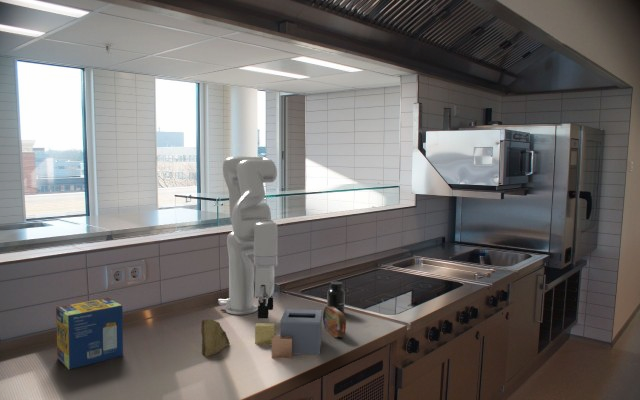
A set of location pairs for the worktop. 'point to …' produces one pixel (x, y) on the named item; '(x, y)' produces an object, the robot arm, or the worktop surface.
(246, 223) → the robot arm
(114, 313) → the protein box
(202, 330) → the rock
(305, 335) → the blue-grey block with hole
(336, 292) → the supplement bottle
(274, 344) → the brown wooden square slab
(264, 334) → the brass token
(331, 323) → the tin
